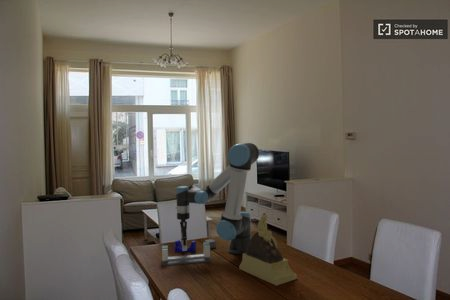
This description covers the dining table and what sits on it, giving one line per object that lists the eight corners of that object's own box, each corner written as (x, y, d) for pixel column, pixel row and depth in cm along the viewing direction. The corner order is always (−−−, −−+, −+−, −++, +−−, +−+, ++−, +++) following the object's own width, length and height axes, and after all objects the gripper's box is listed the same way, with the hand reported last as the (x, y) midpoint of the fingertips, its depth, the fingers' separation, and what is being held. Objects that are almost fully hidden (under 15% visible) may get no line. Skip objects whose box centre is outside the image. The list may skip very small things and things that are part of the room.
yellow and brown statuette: (296, 279, 181) (294, 215, 180) (276, 285, 174) (274, 219, 173) (259, 263, 205) (257, 207, 204) (239, 269, 197) (237, 211, 196)
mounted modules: (208, 252, 220) (208, 241, 220) (210, 256, 213) (209, 244, 213) (162, 256, 216) (161, 245, 216) (162, 260, 209) (161, 248, 209)
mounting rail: (208, 255, 222) (208, 251, 222) (210, 261, 210) (210, 258, 210) (162, 258, 218) (162, 255, 218) (162, 265, 206) (162, 262, 206)
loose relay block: (212, 245, 242) (211, 239, 242) (216, 247, 237) (215, 241, 237) (204, 246, 240) (204, 240, 240) (208, 249, 235) (208, 242, 235)
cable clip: (174, 251, 232) (174, 241, 232) (177, 249, 236) (177, 239, 236) (193, 253, 228) (192, 243, 228) (196, 250, 232) (195, 240, 232)
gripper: (176, 208, 242) (177, 242, 243) (177, 216, 217) (178, 254, 218) (188, 207, 243) (189, 241, 244) (190, 216, 219) (191, 253, 220)
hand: (184, 247), depth 231 cm, fingers open, 13 cm apart
